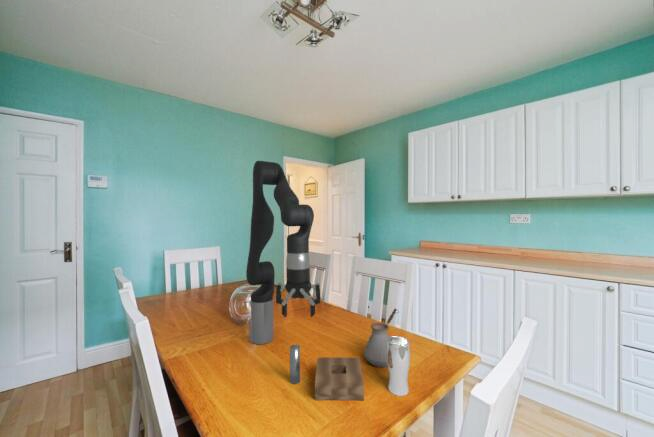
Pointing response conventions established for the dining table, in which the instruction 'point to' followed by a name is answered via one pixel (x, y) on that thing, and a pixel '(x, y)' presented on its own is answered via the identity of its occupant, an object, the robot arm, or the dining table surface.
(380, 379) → the dining table surface
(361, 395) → the bore block
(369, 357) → the coffee pot
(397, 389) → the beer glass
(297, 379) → the pin
